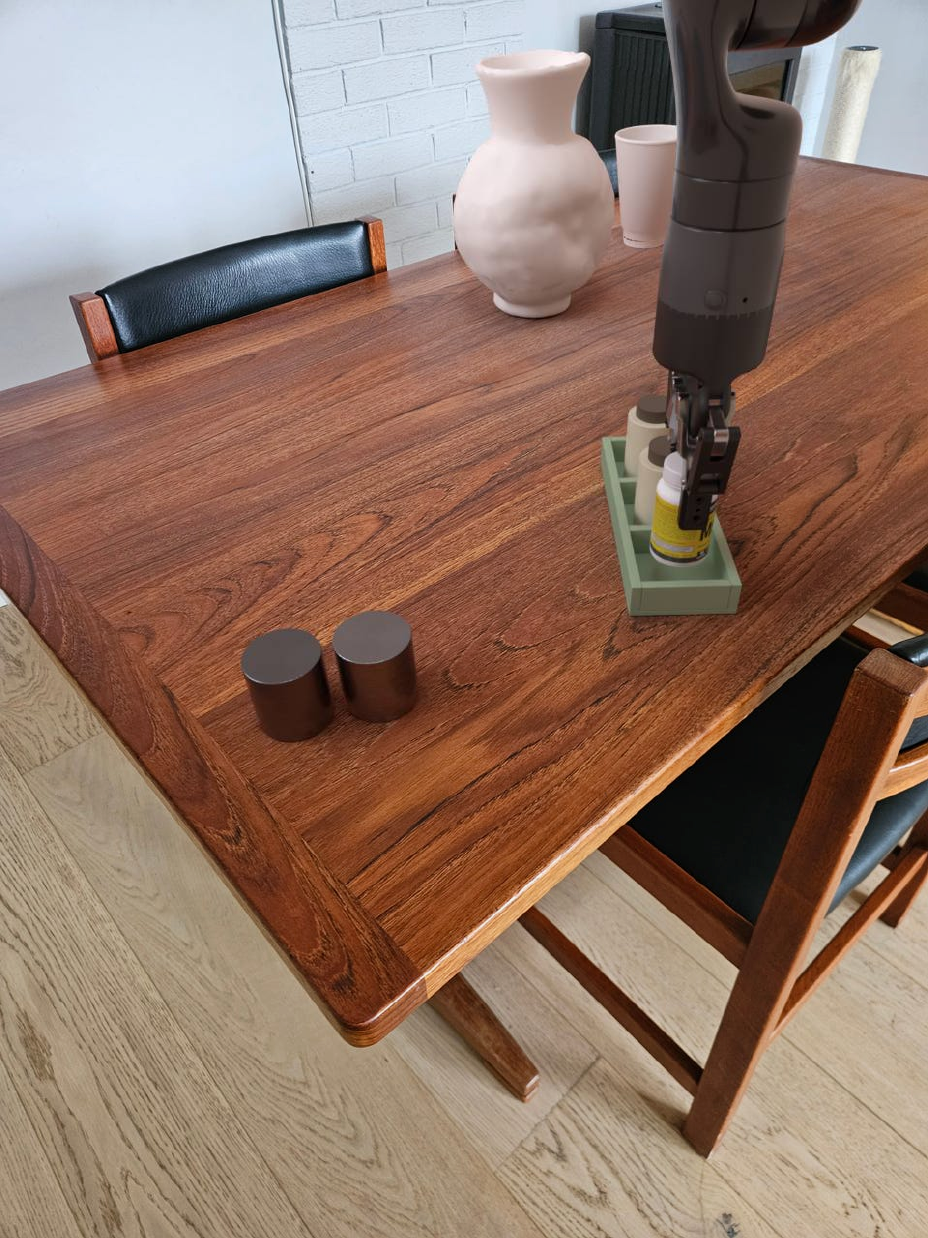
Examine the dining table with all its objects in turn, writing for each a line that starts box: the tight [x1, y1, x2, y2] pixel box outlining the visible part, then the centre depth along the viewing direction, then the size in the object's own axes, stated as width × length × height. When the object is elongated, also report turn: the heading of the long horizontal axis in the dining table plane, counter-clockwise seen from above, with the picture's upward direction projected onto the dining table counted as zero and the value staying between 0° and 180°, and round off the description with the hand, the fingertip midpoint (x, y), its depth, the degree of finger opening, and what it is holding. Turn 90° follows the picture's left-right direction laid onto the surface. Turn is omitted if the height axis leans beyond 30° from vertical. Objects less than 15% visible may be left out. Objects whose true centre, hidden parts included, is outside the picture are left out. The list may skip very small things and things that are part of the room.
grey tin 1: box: [239, 627, 336, 743], centre depth 59 cm, size 6×6×6 cm
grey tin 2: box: [331, 609, 420, 723], centre depth 60 cm, size 6×6×6 cm
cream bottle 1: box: [623, 393, 670, 478], centre depth 79 cm, size 5×5×8 cm
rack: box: [599, 435, 743, 617], centre depth 75 cm, size 9×24×3 cm, turn 178°
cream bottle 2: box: [633, 435, 673, 525], centre depth 73 cm, size 5×5×8 cm
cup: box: [614, 124, 677, 249], centre depth 132 cm, size 12×12×16 cm
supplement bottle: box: [650, 452, 719, 567], centre depth 65 cm, size 5×5×8 cm
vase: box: [452, 48, 615, 319], centre depth 109 cm, size 19×21×30 cm
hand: (685, 506), depth 65 cm, fingers closed on supplement bottle, 4 cm apart
